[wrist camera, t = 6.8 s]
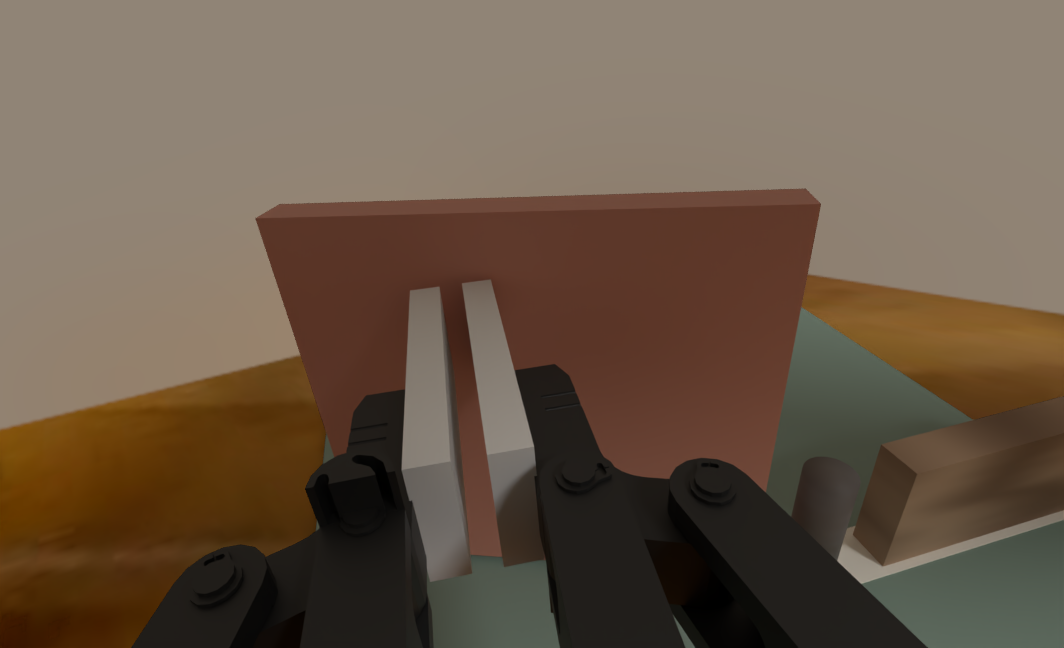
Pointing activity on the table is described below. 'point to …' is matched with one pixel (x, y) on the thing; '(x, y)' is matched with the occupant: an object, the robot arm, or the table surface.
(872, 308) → the table surface
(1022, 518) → the fence wall
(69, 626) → the table surface
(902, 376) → the card
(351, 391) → the gate panel
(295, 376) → the table surface
